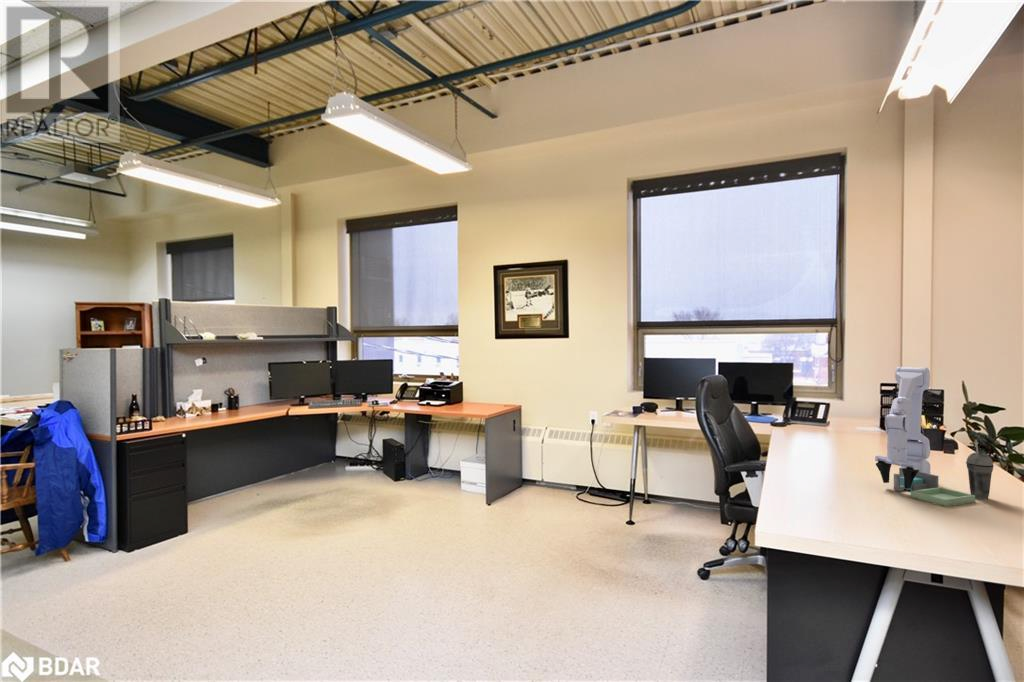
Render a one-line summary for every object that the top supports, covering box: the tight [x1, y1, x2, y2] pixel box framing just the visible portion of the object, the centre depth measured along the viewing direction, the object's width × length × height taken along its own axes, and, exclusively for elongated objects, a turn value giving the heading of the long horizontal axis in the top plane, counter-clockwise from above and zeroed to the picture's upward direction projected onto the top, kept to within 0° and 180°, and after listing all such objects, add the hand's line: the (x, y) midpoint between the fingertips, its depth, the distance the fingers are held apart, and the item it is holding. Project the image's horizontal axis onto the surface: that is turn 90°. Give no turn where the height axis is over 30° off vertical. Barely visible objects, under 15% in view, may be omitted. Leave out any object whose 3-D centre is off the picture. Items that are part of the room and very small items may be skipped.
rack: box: [898, 467, 939, 491], centre depth 192 cm, size 8×13×6 cm, turn 19°
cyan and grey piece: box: [893, 473, 923, 492], centre depth 191 cm, size 11×4×6 cm, turn 109°
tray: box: [910, 486, 976, 507], centre depth 179 cm, size 15×11×2 cm
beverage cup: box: [965, 439, 995, 500], centre depth 181 cm, size 7×7×20 cm
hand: (896, 485), depth 189 cm, fingers open, 7 cm apart
